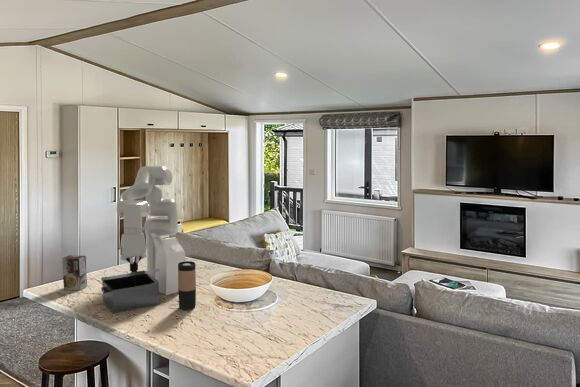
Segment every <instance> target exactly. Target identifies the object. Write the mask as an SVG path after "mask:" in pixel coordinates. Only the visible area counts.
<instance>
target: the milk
mask: <svg viewBox="0 0 580 387" xmlns="http://www.w3.org/2000/svg"><path fill="white" fill-rule="evenodd" d="M178 240H179V239H178V238H177V237H176V236H175V237H169V238H168V237H166V238H164V239H163V244H162V246H161V247H160V248H159V249H158V251H157V252H156V264H155V269H159V272H155V278H154V279H156V280H157V281H158V283H159V293H162V294H163V295H165V296H167V295H172V294H175V293H178V263H180V262H185V261H187V256H186V255H187V254H186V252H185V250H184V248H183V247H182V246H181V243H180V242H179V241H178Z"/></svg>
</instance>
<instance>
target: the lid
mask: <svg viewBox="0 0 580 387" xmlns="http://www.w3.org/2000/svg"><path fill="white" fill-rule="evenodd" d="M153 272H159V269H155V270H148V271H147V270H139V271H138V270H137V272H131V271H130V273H122V274H117V275H111V276H103V277H100V281H102V280H108V279H115V278H121V277H128V276H135V275H141V274H147V273H153Z"/></svg>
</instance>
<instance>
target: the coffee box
mask: <svg viewBox="0 0 580 387" xmlns="http://www.w3.org/2000/svg"><path fill="white" fill-rule="evenodd" d="M86 258H87V257H86V255H74V254H73V255H71V254H69V255H67V256H64V257H61V262H62V263H61V265H62V277H63V279H62V280H63V290H64V291H82V290H84V289H85V288H87V287H88V278H87V277H88V276H87V259H86Z"/></svg>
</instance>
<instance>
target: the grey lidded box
mask: <svg viewBox="0 0 580 387" xmlns="http://www.w3.org/2000/svg"><path fill="white" fill-rule="evenodd" d="M101 281H102V284H101V285H102V287H101V288H100V290H101V292H102V302H103V303H104V304H105V306H106V307H107V308H108V309H109V310H110V312H112V314H116V313H122V312H127V311H131V310H135V309H136V310H137V309H141V308H146V307H151V306H156V305H160V292H159V283H158V281H157V280H156V279H155V278H152V277H151V276H149V275H148V274H141V275H135V276H128V277H121V278H115V279H108V280H101Z"/></svg>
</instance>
